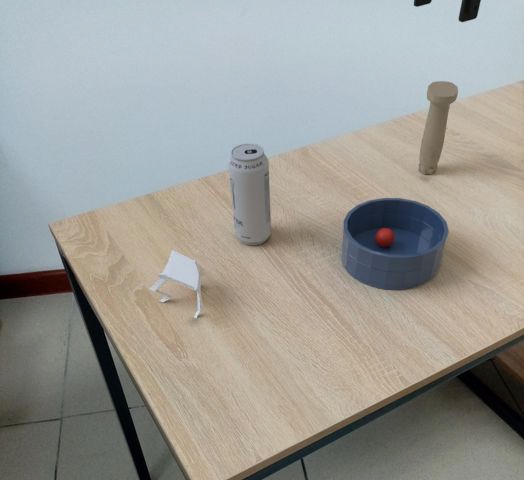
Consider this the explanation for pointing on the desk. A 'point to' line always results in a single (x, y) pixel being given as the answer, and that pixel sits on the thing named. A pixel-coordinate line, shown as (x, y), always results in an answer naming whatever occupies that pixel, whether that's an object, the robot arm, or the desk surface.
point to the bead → (384, 237)
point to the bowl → (403, 248)
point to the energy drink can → (250, 193)
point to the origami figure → (181, 276)
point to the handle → (436, 124)
